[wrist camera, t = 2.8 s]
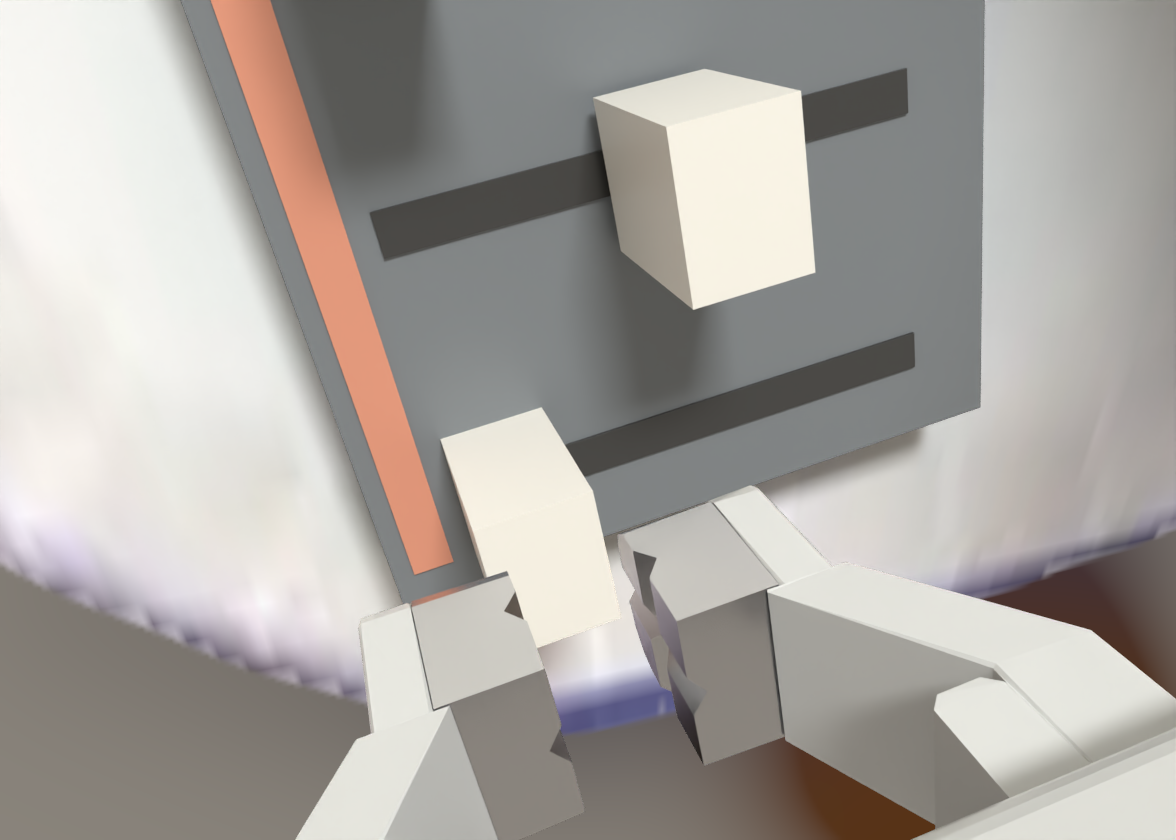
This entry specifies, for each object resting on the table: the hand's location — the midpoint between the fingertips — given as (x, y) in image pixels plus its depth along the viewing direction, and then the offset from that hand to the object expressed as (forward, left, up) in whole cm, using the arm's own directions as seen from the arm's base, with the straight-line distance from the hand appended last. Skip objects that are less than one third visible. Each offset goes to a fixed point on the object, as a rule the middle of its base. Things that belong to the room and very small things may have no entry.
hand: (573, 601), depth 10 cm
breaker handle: (-7, 0, -16) cm, 17 cm away
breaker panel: (-7, 0, -19) cm, 20 cm away
